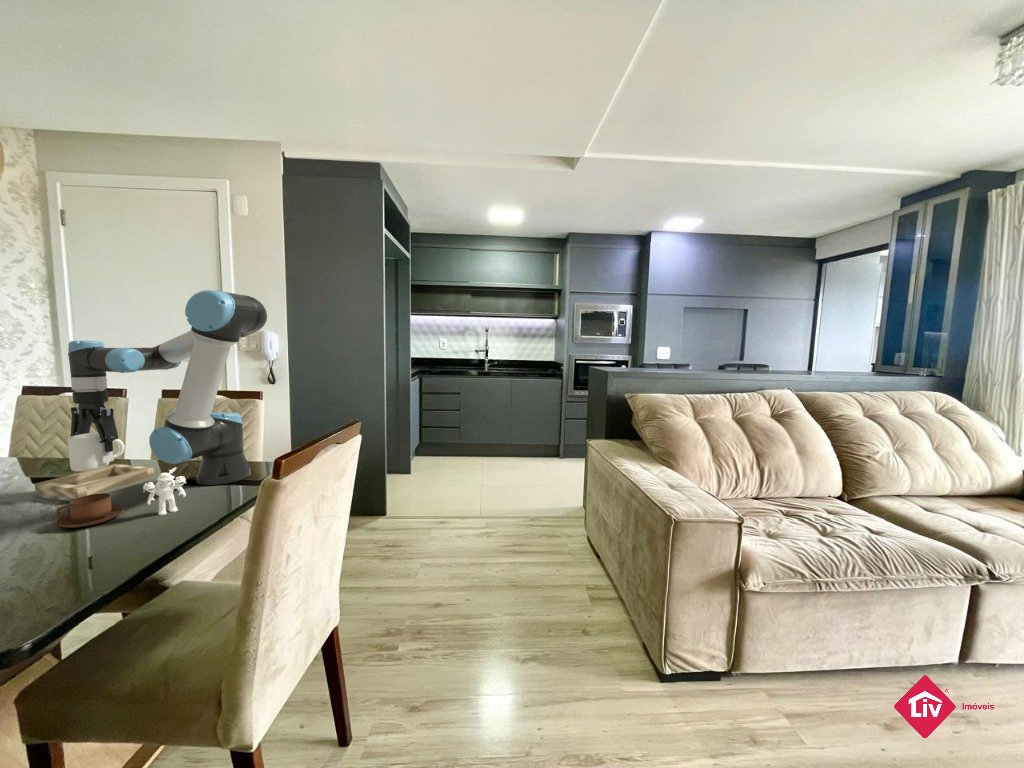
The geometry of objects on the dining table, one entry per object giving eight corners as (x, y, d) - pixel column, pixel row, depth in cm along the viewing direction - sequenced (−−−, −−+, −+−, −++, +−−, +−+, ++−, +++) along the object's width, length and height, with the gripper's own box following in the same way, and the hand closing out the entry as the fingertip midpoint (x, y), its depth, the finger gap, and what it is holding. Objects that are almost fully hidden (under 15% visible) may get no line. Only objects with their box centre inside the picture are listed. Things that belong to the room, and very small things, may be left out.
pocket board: (154, 479, 132) (153, 467, 131) (78, 502, 112) (77, 488, 112) (116, 474, 135) (115, 463, 135) (36, 496, 116) (34, 483, 115)
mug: (125, 459, 130) (123, 429, 129) (125, 465, 124) (123, 434, 123) (71, 467, 121) (68, 435, 120) (69, 473, 116) (66, 440, 114)
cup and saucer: (59, 537, 93) (56, 512, 92) (55, 522, 100) (52, 499, 99) (128, 519, 102) (126, 497, 102) (120, 507, 110) (118, 486, 109)
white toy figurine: (185, 504, 112) (183, 464, 111) (190, 508, 109) (187, 467, 108) (143, 515, 104) (140, 472, 103) (147, 519, 102) (144, 475, 101)
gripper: (130, 390, 122) (136, 459, 124) (80, 387, 126) (86, 454, 128) (101, 393, 115) (107, 467, 117) (48, 389, 119) (55, 461, 121)
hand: (96, 460), depth 123 cm, fingers closed on mug, 8 cm apart
